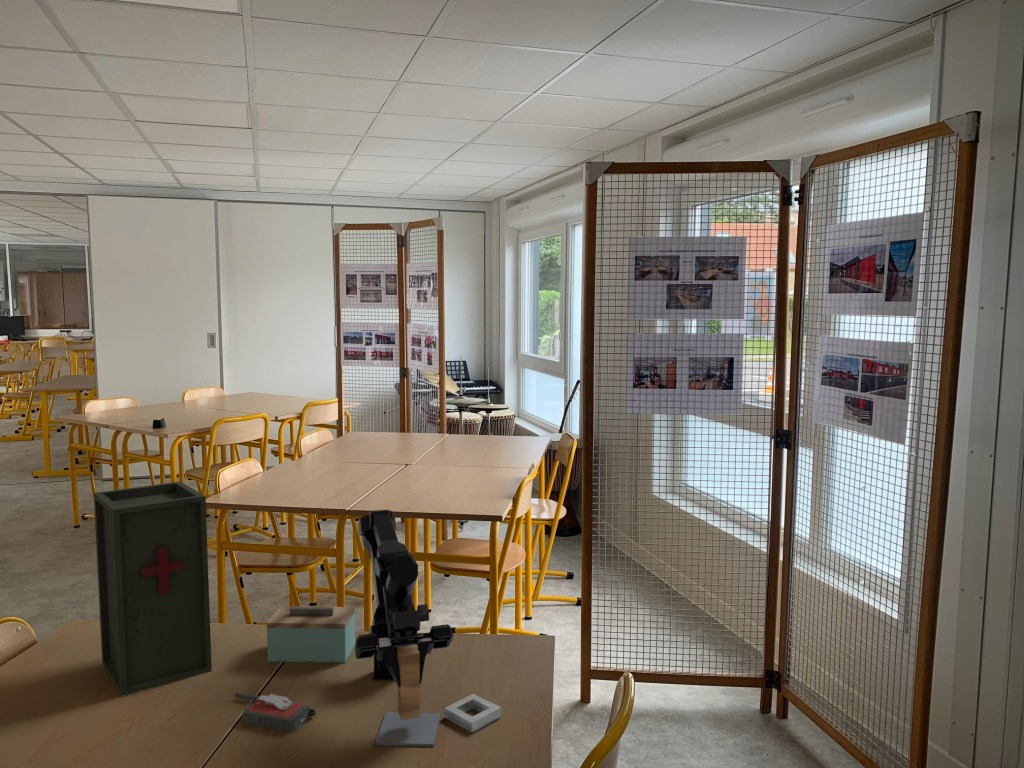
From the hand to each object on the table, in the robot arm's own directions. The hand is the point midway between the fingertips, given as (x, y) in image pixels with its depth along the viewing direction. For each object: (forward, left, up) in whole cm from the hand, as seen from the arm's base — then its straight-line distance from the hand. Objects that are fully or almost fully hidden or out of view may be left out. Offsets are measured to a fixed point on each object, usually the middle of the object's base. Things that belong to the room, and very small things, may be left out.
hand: (409, 685), depth 148 cm
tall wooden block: (0, +1, -7) cm, 7 cm away
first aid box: (-61, +25, -10) cm, 67 cm away
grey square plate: (0, +1, -10) cm, 10 cm away
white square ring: (+12, +6, -10) cm, 16 cm away
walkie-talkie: (-30, +6, -10) cm, 32 cm away
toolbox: (-28, +34, -10) cm, 46 cm away
